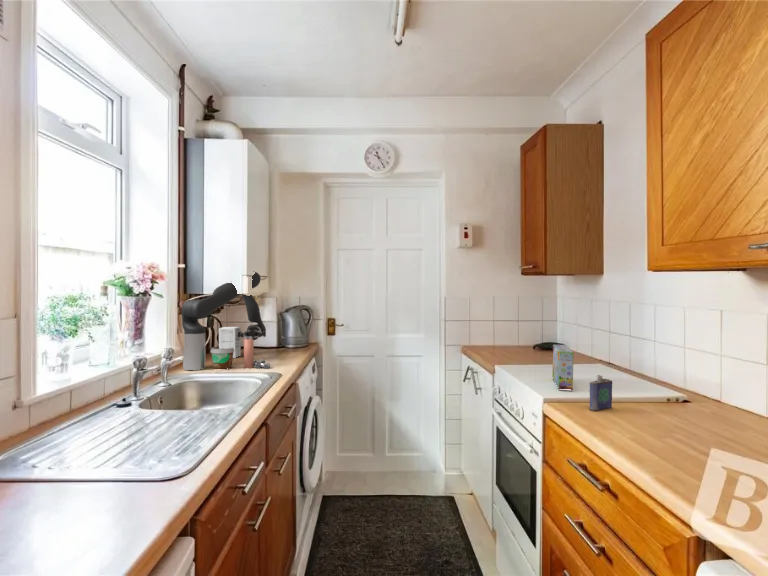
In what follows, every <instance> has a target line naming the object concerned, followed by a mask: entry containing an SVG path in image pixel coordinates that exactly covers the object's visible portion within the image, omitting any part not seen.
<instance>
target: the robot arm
mask: <svg viewBox="0 0 768 576" xmlns="http://www.w3.org/2000/svg"><path fill="white" fill-rule="evenodd" d="M254 272H255V274H254V275H253V276H252V279H253V280H252V289H255V288H257V287H259V284H260V283H261V275H260V274H259V273H258V272H256V271H254ZM240 295H241V294H237V290H236V288H235V286H234V285H233V284H232V283H228V282H226V283H225V282H224V283H223V284H221V285H218V286H217V287H216V288H215V289H214V290H213V292H212V293H211V295H210V296H208V297H206V298H203V299H187V300H186V301H184V302H183V304H182V307H181V322H182V323H181V325H182V328H183V333H184V335H183V338H184V339H183V343H184V346H183V349H182V357H184V360H183V359H182V370H184V371H188V370H193V371H201V370H200V369H202V370H204V368H205V369H206V327H205V326H204V325H202V324H201V323H200V322H199V320H201V319H205V318H206V317H208V316H209V315H211V314H212V313H213V312H214V311H216V310H217V309H219V308H220V307H223V306H224V305H225V304H227V303H229V302H231V301H233V300H234V299H235V298H237V297H239V296H240ZM242 297H243V300H244V303H245V307H246V313H247V319H248V320H247V321H249V322H251V323H256V324H251V325H248V326H247V328H246V330H244V331H241V330H240V332H238V336H237V337H241V338H244V339H245V337H253V341H255V340H258V339H259V338H262V337H263V338H266V337H267V329H266V326H265V324H264V323H263V322H264V321H263V320H262V316H261V311H260V306H259V304H258V302H257V301H256V299H255V298H254V296H253V294H252V295H250V296H246V295H242Z"/></svg>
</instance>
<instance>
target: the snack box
mask: <svg viewBox="0 0 768 576" xmlns="http://www.w3.org/2000/svg"><path fill="white" fill-rule="evenodd" d="M574 355H575V353H574V351H573V350H572V349H570V347H568V346H567V345H565V344H552V377H553V379H554V381H555V382H554V381H553V382H554V384H555V383H556V384H555V386H556V385H557V386H556V388H557V387H558V388H559V389H571V390H573V389H574V358H575V357H574ZM553 379H552V380H553ZM558 388H557V389H558Z"/></svg>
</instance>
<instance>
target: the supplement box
mask: <svg viewBox="0 0 768 576" xmlns="http://www.w3.org/2000/svg"><path fill="white" fill-rule="evenodd" d="M240 331H241V326H223V327H220V328H218V349H222V348H224V349H229V348H234V352H233V359H237V358H238V356H239V357H241V356H242V353H241V352H242V351H241V350H242V349H241V348H242V347H241V345H242V342H241V338H242V337H237V336H238V332H240ZM236 357H237V358H236Z"/></svg>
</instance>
